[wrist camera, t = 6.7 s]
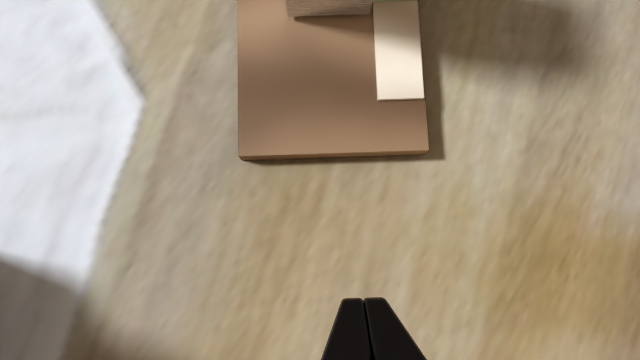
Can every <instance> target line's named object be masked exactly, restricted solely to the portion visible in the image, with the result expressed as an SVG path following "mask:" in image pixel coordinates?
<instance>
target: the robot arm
mask: <svg viewBox="0 0 640 360" xmlns="http://www.w3.org/2000/svg"><path fill="white" fill-rule="evenodd" d="M321 360H427V359H426V358H425V356H424V355H423V354H422V352H421V351H420V349H419V348H418V346H417V345H416V343H415V342H414V340H413V339H412V337H411V336H410V334H409V333H408V331H407V330H406V329H405V327H404V326H403V324H402V323H401V321H400V320H399V318H398V317H397V315H396V314H395V312H394V311H393V309H392V308H391V307H390V305H389V304H388V302H387V301H386V300H385V299H384V298H382V297H375V298H365V299H364V301H363V300H362V299H361V298H345V299H343V300H342V301H341V304H340V307H339V310H338V313H337V315H336V318H335V321H334V324H333V327H332V330H331V333H330V335H329V338H328V341H327V344H326V347H325V350H324V353H323V355H322V358H321Z"/></svg>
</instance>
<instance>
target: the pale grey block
mask: <svg viewBox="0 0 640 360" xmlns="http://www.w3.org/2000/svg"><path fill="white" fill-rule="evenodd" d="M372 1H373V0H286V7H287V15H288V17H296V16H330V15H363V14H370V10H371V6H372Z"/></svg>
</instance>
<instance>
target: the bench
mask: <svg viewBox="0 0 640 360" xmlns="http://www.w3.org/2000/svg"><path fill="white" fill-rule="evenodd" d="M237 23H238V156H239V158H240V159H241V160H266V159H297V158H328V157H360V156H391V155H423V154H425V153H426V152H427V151H428V150H429V145H428V130H427V116H426V101H425V87H424V73H423V58H422V44H421V30H420V15H419V1H418V0H373V1H372V6H371V10H370V14H363V15H330V16H296V17H288V15H287V7H286V0H237Z"/></svg>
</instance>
